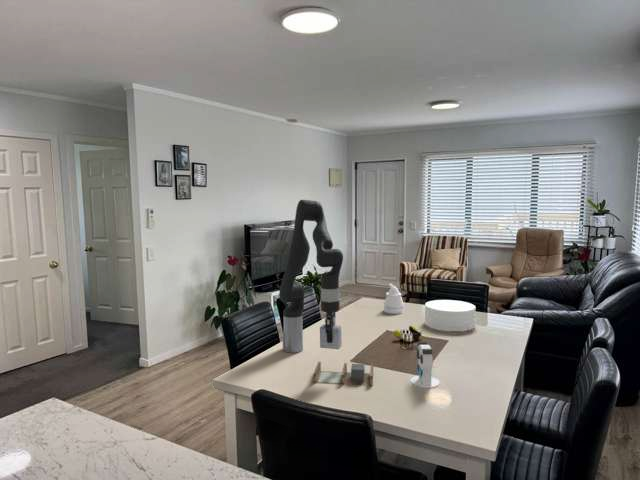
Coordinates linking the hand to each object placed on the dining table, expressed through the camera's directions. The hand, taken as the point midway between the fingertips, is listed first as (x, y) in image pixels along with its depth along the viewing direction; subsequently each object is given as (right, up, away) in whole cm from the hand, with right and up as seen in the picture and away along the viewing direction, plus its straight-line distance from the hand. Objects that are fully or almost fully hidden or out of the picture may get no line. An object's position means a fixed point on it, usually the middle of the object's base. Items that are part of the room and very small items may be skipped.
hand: (330, 340), depth 174 cm
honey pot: (+44, -6, +109) cm, 117 cm away
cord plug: (+11, -15, +1) cm, 19 cm away
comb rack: (+6, -16, +1) cm, 17 cm away
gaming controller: (+42, -12, +51) cm, 68 cm away
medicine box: (0, -3, 0) cm, 3 cm away
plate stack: (+71, -9, +78) cm, 106 cm away
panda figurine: (+38, -16, -1) cm, 41 cm away
